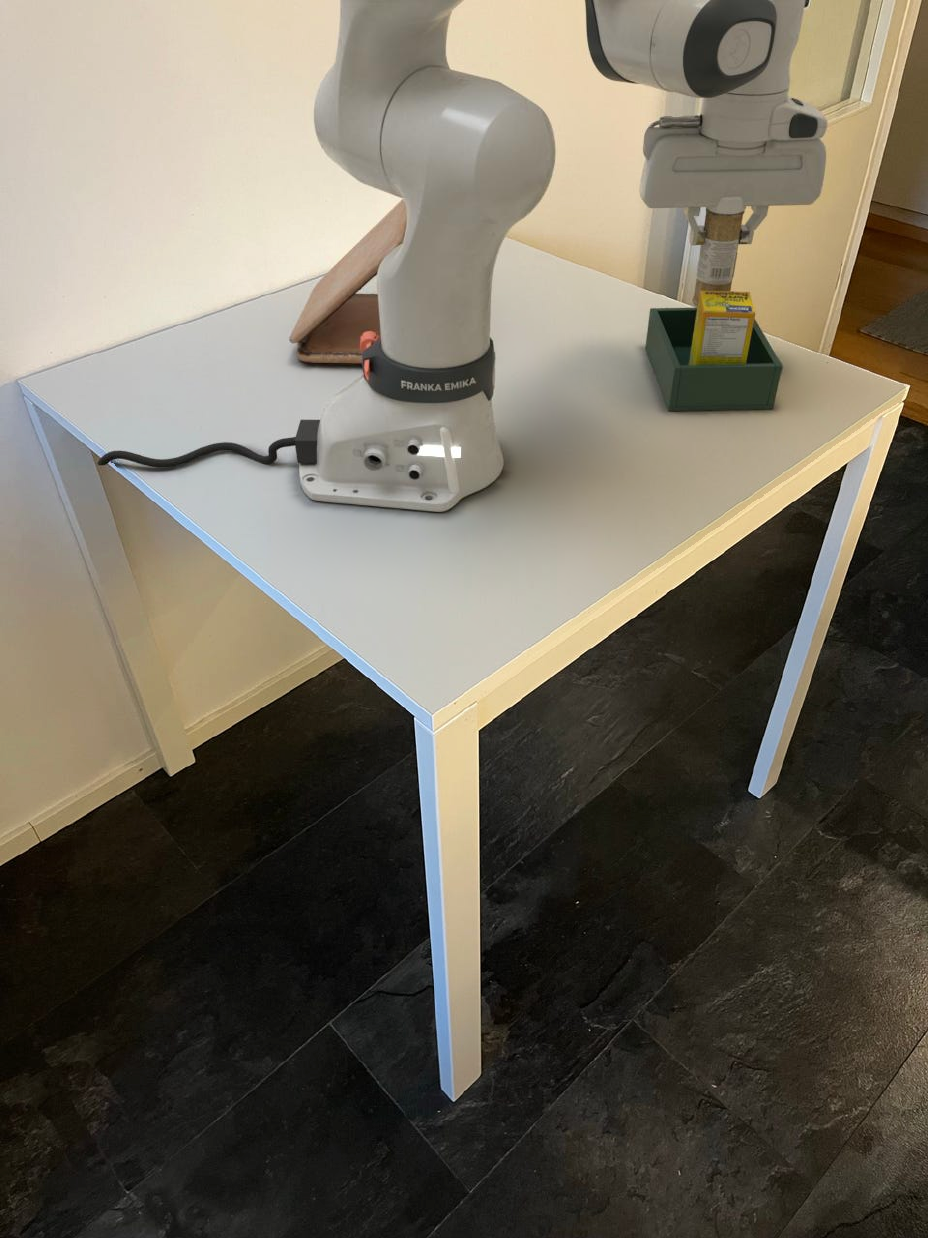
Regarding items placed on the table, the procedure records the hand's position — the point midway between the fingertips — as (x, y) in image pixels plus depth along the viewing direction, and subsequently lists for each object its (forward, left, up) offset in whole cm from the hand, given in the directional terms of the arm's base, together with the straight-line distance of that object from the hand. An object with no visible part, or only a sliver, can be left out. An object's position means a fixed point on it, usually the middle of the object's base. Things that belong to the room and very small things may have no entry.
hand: (720, 243), depth 113 cm
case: (-42, +11, -16) cm, 46 cm away
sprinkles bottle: (0, 0, -8) cm, 8 cm away
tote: (0, -4, -15) cm, 16 cm away
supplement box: (0, -7, -15) cm, 17 cm away
